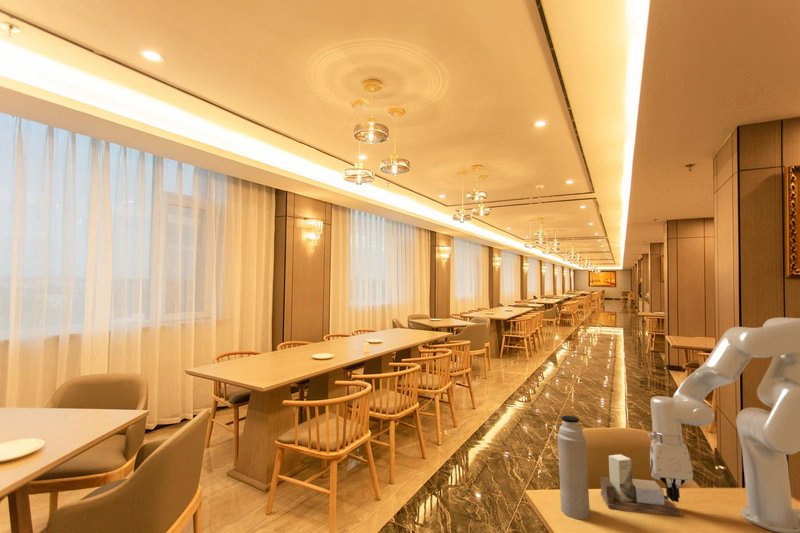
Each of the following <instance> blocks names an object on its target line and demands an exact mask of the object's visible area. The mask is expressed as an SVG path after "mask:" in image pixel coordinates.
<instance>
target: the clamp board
mask: <svg viewBox="0 0 800 533" xmlns="http://www.w3.org/2000/svg"><path fill="white" fill-rule="evenodd" d="M600 490H601V491H600V496H601V498H602V500H603V501H604V502H605V505H606V507H607V508H608V509H610V510H619V511H628V512H637V513H638V512H639V513H645V514H646V513H647V514H653V515H655V514H657V515H662V516H663V515H665V516H672V517H673V516H674V517H681V514H682V513H681V509H680V507H676V506H675V504H674V503H673V502H672V500H671V499H670V498H669V497H668V496H667V494H666V495H665V494H664V503H665V507H664V506H654V505H645V504H636V503H635V501H632V502H619V501H617V500H615V499H614V487H613V485H612V484H611V482H610V478H608V477H607V476H600Z"/></svg>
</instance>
